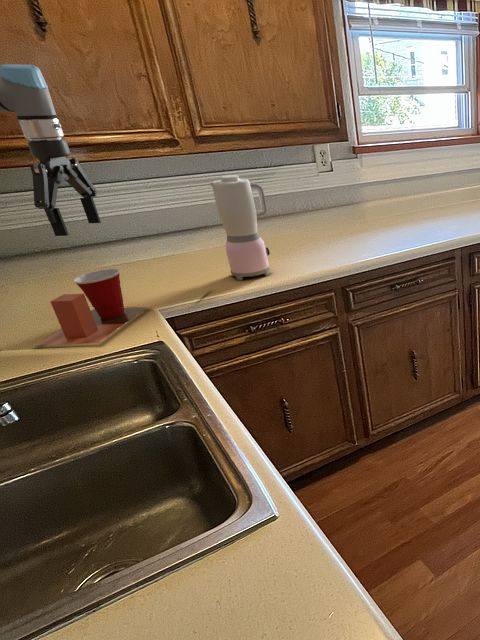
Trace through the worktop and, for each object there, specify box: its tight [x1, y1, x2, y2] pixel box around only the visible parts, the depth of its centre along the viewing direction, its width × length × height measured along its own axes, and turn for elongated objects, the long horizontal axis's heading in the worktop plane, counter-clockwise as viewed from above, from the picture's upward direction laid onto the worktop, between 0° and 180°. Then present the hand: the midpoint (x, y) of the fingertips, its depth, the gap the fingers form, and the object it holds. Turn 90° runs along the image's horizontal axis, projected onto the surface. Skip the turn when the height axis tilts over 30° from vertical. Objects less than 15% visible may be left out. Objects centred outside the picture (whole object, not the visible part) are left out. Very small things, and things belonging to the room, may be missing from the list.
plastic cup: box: [72, 267, 125, 319], centre depth 141 cm, size 11×11×12 cm
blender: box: [208, 174, 271, 281], centre depth 170 cm, size 16×12×32 cm
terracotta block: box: [49, 293, 98, 339], centre depth 130 cm, size 5×5×10 cm
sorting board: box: [35, 306, 148, 349], centre depth 138 cm, size 15×24×1 cm, turn 4°
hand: (79, 229), depth 132 cm, fingers open, 13 cm apart
